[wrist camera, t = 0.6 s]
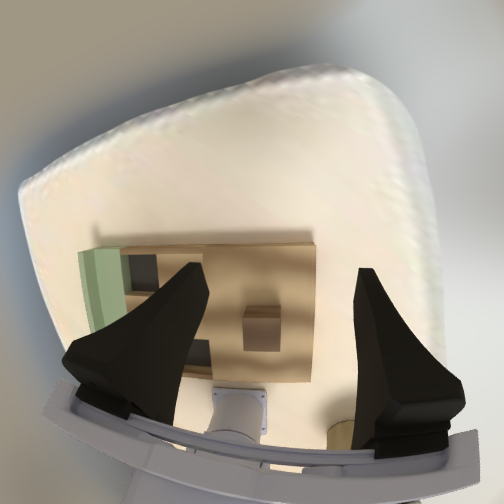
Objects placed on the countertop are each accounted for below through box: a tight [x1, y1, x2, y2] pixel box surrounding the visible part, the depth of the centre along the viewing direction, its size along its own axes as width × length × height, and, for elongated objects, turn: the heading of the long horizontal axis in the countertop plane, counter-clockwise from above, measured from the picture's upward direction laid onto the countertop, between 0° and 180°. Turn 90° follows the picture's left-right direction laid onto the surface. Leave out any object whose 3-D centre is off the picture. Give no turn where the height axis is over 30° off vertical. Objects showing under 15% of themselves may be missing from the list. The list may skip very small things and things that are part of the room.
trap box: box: [78, 243, 316, 383], centre depth 35 cm, size 18×30×5 cm, turn 92°
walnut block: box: [242, 306, 281, 352], centre depth 32 cm, size 4×4×4 cm
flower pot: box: [327, 420, 355, 450], centre depth 34 cm, size 9×9×9 cm
